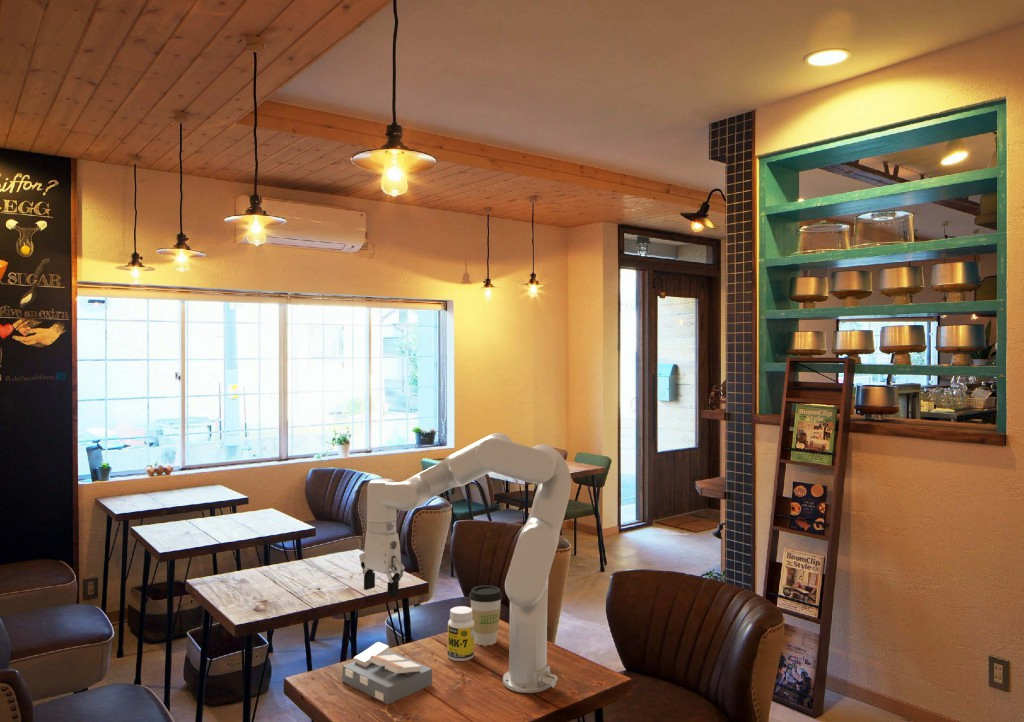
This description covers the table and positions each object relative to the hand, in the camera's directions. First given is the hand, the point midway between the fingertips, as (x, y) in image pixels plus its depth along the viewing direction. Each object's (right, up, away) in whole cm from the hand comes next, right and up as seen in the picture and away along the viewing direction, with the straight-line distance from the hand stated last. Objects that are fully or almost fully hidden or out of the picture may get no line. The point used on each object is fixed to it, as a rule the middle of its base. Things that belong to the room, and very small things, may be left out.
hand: (381, 592), depth 185 cm
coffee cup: (+26, -21, +21) cm, 40 cm away
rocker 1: (-2, -16, -2) cm, 16 cm away
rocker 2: (+3, -16, -6) cm, 17 cm away
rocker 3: (+7, -16, -10) cm, 20 cm away
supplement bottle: (+20, -21, +10) cm, 31 cm away
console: (+3, -21, -6) cm, 22 cm away
